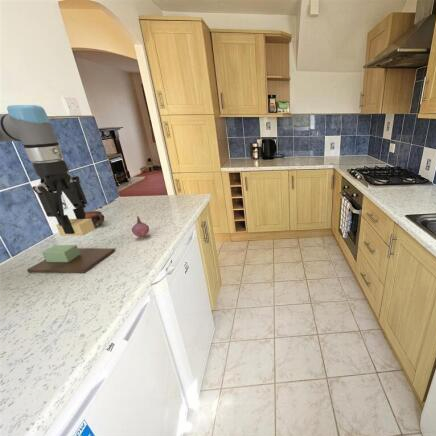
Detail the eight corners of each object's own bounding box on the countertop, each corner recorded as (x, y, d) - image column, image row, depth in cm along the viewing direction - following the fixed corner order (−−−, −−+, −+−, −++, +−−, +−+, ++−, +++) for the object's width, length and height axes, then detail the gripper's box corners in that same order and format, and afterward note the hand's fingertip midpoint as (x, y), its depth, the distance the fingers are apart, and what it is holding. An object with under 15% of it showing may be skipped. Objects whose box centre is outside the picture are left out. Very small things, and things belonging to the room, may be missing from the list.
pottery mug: (75, 231, 111) (73, 213, 112) (96, 231, 120) (94, 215, 121) (96, 225, 108) (94, 208, 109) (116, 226, 117) (113, 209, 118)
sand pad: (60, 235, 81) (55, 225, 80) (73, 229, 86) (69, 218, 84) (83, 235, 81) (78, 224, 79) (95, 229, 85) (91, 218, 84)
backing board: (28, 272, 81) (26, 269, 80) (66, 250, 94) (65, 248, 93) (85, 273, 80) (83, 270, 79) (115, 251, 93) (114, 248, 92)
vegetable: (153, 236, 103) (147, 215, 99) (138, 242, 98) (131, 220, 94) (147, 233, 106) (141, 211, 102) (132, 238, 102) (125, 216, 98)
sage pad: (46, 262, 84) (41, 252, 83) (60, 254, 89) (55, 244, 87) (68, 262, 84) (63, 252, 82) (80, 254, 89) (76, 245, 87)
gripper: (29, 166, 65) (63, 242, 74) (84, 155, 82) (107, 219, 91) (3, 167, 66) (40, 242, 75) (63, 156, 82) (88, 219, 91)
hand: (77, 229), depth 83 cm, fingers closed on sand pad, 5 cm apart
